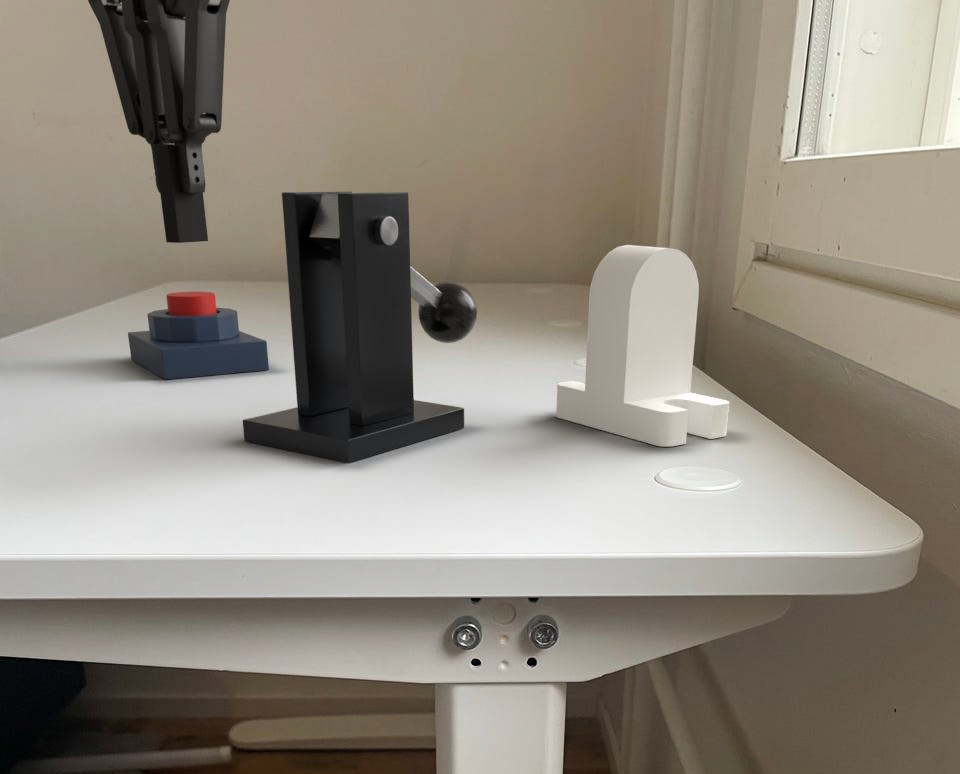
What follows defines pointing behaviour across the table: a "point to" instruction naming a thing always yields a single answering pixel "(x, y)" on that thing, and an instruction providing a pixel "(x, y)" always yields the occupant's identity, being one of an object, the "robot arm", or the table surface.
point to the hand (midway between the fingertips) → (187, 241)
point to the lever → (440, 305)
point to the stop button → (191, 303)
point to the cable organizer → (642, 352)
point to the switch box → (197, 345)
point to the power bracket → (351, 335)
